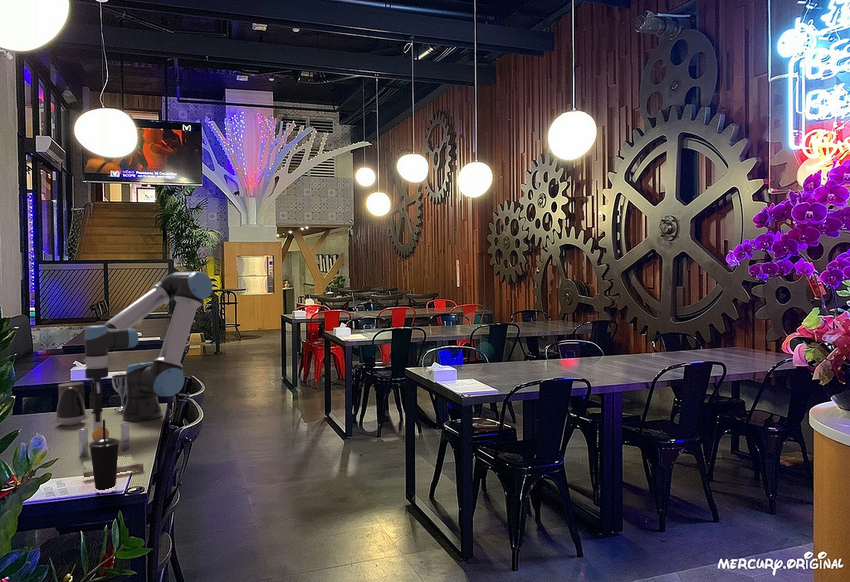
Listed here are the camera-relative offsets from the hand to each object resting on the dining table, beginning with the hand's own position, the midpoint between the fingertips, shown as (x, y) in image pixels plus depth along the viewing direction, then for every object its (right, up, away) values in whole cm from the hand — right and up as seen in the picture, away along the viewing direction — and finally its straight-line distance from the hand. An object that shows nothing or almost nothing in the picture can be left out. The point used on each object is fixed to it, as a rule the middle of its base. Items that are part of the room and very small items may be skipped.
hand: (97, 430), depth 230 cm
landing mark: (+21, -3, -33) cm, 39 cm away
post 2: (+19, -3, -18) cm, 26 cm away
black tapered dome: (-21, -2, +20) cm, 30 cm away
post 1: (+8, -3, -25) cm, 26 cm away
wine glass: (-14, -1, +48) cm, 51 cm away
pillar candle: (-30, -2, +36) cm, 47 cm away
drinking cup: (+33, -4, -59) cm, 68 cm away
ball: (+5, 0, -8) cm, 9 cm away
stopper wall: (+29, -3, -45) cm, 53 cm away
